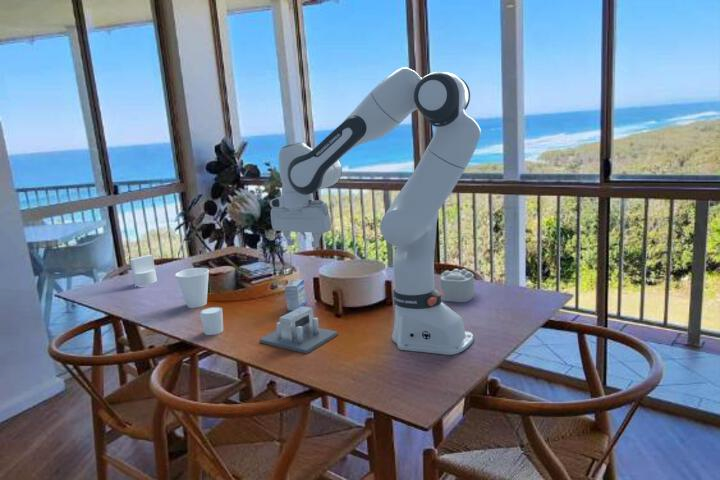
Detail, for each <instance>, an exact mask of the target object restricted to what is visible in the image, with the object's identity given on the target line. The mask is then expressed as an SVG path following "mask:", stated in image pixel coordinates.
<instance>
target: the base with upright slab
mask: <svg viewBox="0 0 720 480" xmlns="http://www.w3.org/2000/svg"><path fill="white" fill-rule="evenodd" d="M129 261H130V267H131V272H132V279H133V284H135V285H147V284H151V283H154V282H156V281H157V282H158V280H157V272H156V268H155V261H154V255H153V254H145V255H142V256H138V257H133V258H130V259H129ZM135 285H134V286H135Z"/></svg>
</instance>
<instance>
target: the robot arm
mask: <svg viewBox="0 0 720 480" xmlns="http://www.w3.org/2000/svg"><path fill="white" fill-rule="evenodd" d="M470 102H471V91H470V88H469V86H468V84H467V82H466V81H465V79H462V78H461V77H459V76H457V75H456V74H454V73H451V72H442V71H435V72H429V74H426V75H424V76H423V77H421V75H419V73H417V72H416V71H415V70H413V69H412V68H408V67H401V68H398V69H397V70H395V71H394V72H392V73H391V74H389V75H388V76H387V77H386V78H384V79H383V80H381V81H380V82H379V83H378V84H377V85H376V86H375V87H374V88H373V89H372V90H371V91H370V92H369V93H368V94H367V95H366V96H365V97H364V98H363V100H362V101H361V102H359V104H358V105H357V106H356V108H355V109H354V110H353V111H352V112H351V113H350V114H349V115H348V116H347V117H346V118H345V119H344V120H343V121H342V123H340V125H338V126H337V127H336V128H335V129H333V130H332V131H331V132H330V134H329V135H328V136H326V137H325V138H324V139H323V140H322V141H321V142H319V144H318V145H317V146H315V147H314V148H312V147H310V146H309V145H308V144H306V143H304V142H294V143H292V144H287V145H285V146H283V147H281V149H279V153H278V170H279V177H280V180H281V185H282V186H281V195H280V196H278V197H275V198H272V199H270V201H269V206H270V207H271V210H270V222H271V227H272V229H273V230H274V231H275V232H276V231H277V232H282V235H283V237H284V238H285V240H286V245H287V247H289V246H290V247H291V246H295V243H296V242H295V238H292V236H291V233H292V232H294V233H295V232H298V233H312V234H313V236H312V237H314V239H313V241H310V242H311V243H310V244H311V247H312V248H319V247H320V240H321V238H322V235H323V234H324V233H327V232H330V230H332V221H331V216H330V212H329V207H328V204H327V203H326V202H325V201H324V200H322V199H318V200H316V199H314V193H315V192H317V191H319V190H323V189H326V188H329V187H331V186H333V185H335V184H337V183H338V182H339V181H340V179H341V177H342V174H343V167H342V164H341V161H340V159H341V158H342V157H344V156H345V155H346V154H347V153H348V152H349V151H351V150H352V149H355V148H356V147H358V146H360V145H362V144H366V143H368V142H371V141H375V140H377V139H378V140H379V139H381V138H382V137H384V136H386V135H388V133H390V132H392V131H393V130H394V129H395V128H396V127H398V126H399V125H400V124H401V123H402V122H403V121H405V119H406V118H408V116H409V115H411V114H412V113H414V111H417V110H418V111H419V112H420V113H421V114H422V116H423V117H424V118H425V119H426V120H427V121H428V122H429V123H430V124H431V126H433V127H435V131H434V134H433V136H432V138H431V140H430V142H429V144H428V146H427V147H426V148H425V151H424V153H423V154H422V156H421V158H420V159H419V162H418V163H417V165H416V167H415V169H414V171H413V173H411V175H410V177H409V178H408V180H407V181H406V183H405V184H404V186H403V187H402V188H401V190H400V191H399V192H398V194H397V196H395V198H394V200H393V201H392V203H391V205H390V206H389V208H388V209H387V211H386V212H385V213H384V215H383V216H382V218H381V221H380V224H379V225H380V226H379V228H380V233H381V235H382V238H383V239H384V240H385V241H386V242H387V244H390V245H392V246H394V247H396V249H395V254H394V257H393V260H392V261H393V262H392V268H393V269H392V270H393V284H394V285H393V286H394V289H393V290H392V291H393V297H392V298H393V305H394V311H395V313H394V322H393V323H394V325H393V331H392V334H391V340H392V341H393V342H394V343H395V344H396V345H397V349H398V350H401V351H408V352H409V351H410V352H418V353H419V352H421V353H429V354H438V355H439V354H440V355H446V356H447V355H449V356H453V355H456V354H460V353H461V352H463V351H465V350H467V348H468V347H470V345H472V343H473V341H474V335H473V332H470V331H466V330H465V324H464V321H463V318H462V316H460V315H459V314H458V313H457V312H455V311H454V310H453V309H452V308H450V307H449V306H448V305H447V304H446V303H444V302H443V300H442V299H441V297H442V296H443V295H444V294H443V292H444V291H442V292H441V291H440V292H439V291H438V289H437V287H436V284H435V283H436V282H435V264H434V262H435V249H436V240H437V226H438V224H437V223H438V219H439V210H440V209H441V207H442V206H443V204H444V203H445V202H446V200H447V199H448V198H449V196H451V193H452V192H453V190H454V189H455V188H456V186H457V183H458V182H459V180H460V178H461V177H462V175H463V173H464V172H465V171H466V168H467V166H468V165H469V163H470V162H471V159H472V158H473V155H474V153H475V151H476V149H477V146H478V143H479V141H480V139H481V138H480V137H481V134H482V132H481V131H482V130H481V128H480V126H479V124H478V123H477V122H476V120H475V119H473V118H472V117H470V116H468V114H467V113H466V110H467V109H468V107H469V104H470Z"/></svg>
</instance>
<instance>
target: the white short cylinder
mask: <svg viewBox="0 0 720 480" xmlns="http://www.w3.org/2000/svg"><path fill="white" fill-rule="evenodd" d="M199 316H200V320H201V324H202V328H203V332H204V334H205V335H206V336H213V335H218V334H221V333H222V332H223V331H224V318H223V317H224V315H223V308H222V307H219V306H212V307H210V306H209V307H207V308H204V309H201V310H200V311H199Z"/></svg>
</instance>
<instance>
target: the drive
mask: <svg viewBox="0 0 720 480" xmlns="http://www.w3.org/2000/svg"><path fill="white" fill-rule="evenodd" d="M312 318H315V317H314V309H313V307H309V306H305V305H304V306H302V307H300V308H298V309H296V310H294V311H289V312H288V313H286V314H283V315H282V316H279V322H280V328H281V336H282V341H286V342H290V343H294V342H295V341H297V331H296V327H297V326H302V333H303V337H304V336H306V335H308V334H309V333H311V332H313V323H312Z"/></svg>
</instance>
